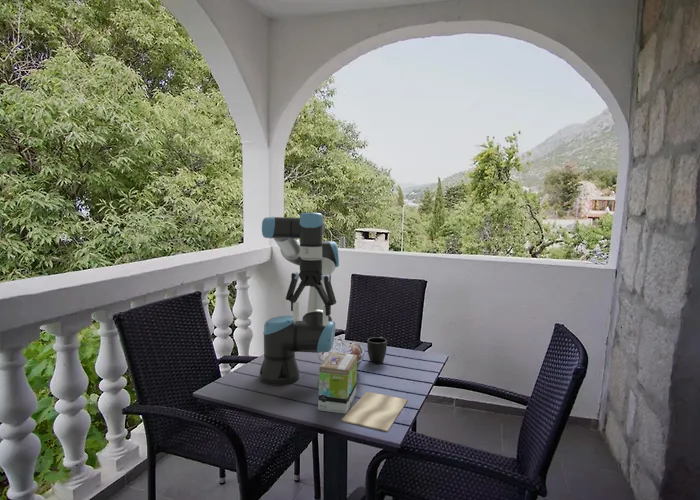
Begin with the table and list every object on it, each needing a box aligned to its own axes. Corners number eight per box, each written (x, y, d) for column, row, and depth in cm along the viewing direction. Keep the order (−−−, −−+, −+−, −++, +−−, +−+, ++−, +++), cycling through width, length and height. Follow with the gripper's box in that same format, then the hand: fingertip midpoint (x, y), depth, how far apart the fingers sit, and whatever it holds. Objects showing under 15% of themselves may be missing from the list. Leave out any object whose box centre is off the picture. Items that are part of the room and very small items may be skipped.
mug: (391, 357, 184) (391, 336, 183) (382, 366, 173) (383, 344, 172) (373, 354, 187) (373, 333, 186) (364, 363, 176) (364, 341, 175)
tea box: (347, 414, 132) (348, 369, 131) (317, 411, 134) (317, 366, 133) (356, 394, 147) (357, 353, 145) (329, 391, 149) (329, 351, 147)
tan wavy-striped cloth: (340, 420, 128) (340, 419, 128) (366, 392, 148) (366, 391, 148) (387, 431, 122) (387, 430, 122) (407, 400, 142) (407, 399, 142)
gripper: (275, 257, 141) (275, 321, 143) (337, 262, 132) (336, 330, 134) (286, 255, 148) (286, 316, 150) (347, 259, 139) (346, 324, 141)
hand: (310, 322), depth 142 cm, fingers open, 11 cm apart
